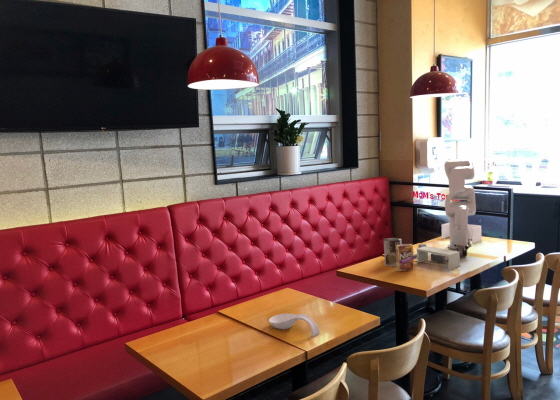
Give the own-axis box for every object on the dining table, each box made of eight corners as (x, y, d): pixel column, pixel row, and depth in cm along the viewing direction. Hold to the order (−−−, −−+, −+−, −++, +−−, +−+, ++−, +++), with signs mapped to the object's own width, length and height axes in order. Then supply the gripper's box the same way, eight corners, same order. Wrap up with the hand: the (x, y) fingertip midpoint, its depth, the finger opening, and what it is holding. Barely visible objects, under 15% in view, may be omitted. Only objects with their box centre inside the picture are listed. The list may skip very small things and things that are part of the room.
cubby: (426, 259, 279) (426, 245, 278) (459, 266, 259) (459, 251, 258) (417, 262, 274) (416, 248, 273) (450, 269, 254) (450, 254, 253)
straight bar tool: (422, 254, 292) (421, 243, 291) (426, 255, 289) (426, 244, 288) (406, 258, 283) (406, 248, 282) (411, 259, 280) (410, 249, 279)
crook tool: (452, 254, 287) (452, 243, 287) (466, 256, 279) (465, 245, 278) (430, 260, 275) (430, 249, 274) (444, 263, 267) (444, 252, 266)
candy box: (398, 271, 257) (397, 246, 255) (396, 269, 261) (395, 244, 259) (413, 270, 257) (413, 244, 255) (411, 268, 261) (410, 243, 259)
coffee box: (399, 263, 275) (398, 237, 273) (401, 265, 268) (400, 239, 266) (384, 263, 276) (383, 238, 274) (385, 266, 269) (384, 240, 267)
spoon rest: (263, 328, 189) (262, 312, 188) (280, 319, 198) (279, 303, 197) (308, 341, 174) (307, 323, 173) (325, 330, 183) (324, 313, 182)
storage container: (481, 240, 319) (481, 225, 318) (473, 243, 312) (473, 228, 311) (449, 236, 339) (449, 222, 337) (441, 239, 332) (441, 224, 331)
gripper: (446, 226, 282) (446, 254, 284) (469, 229, 269) (470, 259, 271) (453, 224, 286) (453, 252, 289) (477, 227, 273) (477, 256, 275)
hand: (461, 255), depth 280 cm, fingers closed on crook tool, 3 cm apart
